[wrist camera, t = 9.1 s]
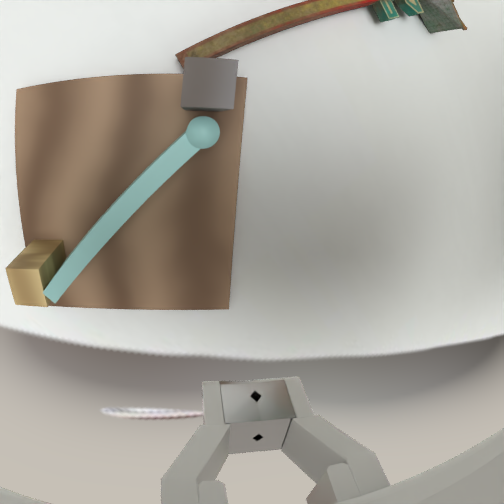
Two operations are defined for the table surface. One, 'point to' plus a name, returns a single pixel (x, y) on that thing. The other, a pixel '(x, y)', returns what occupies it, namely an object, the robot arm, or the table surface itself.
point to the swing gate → (133, 200)
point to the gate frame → (120, 178)
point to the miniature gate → (321, 5)
